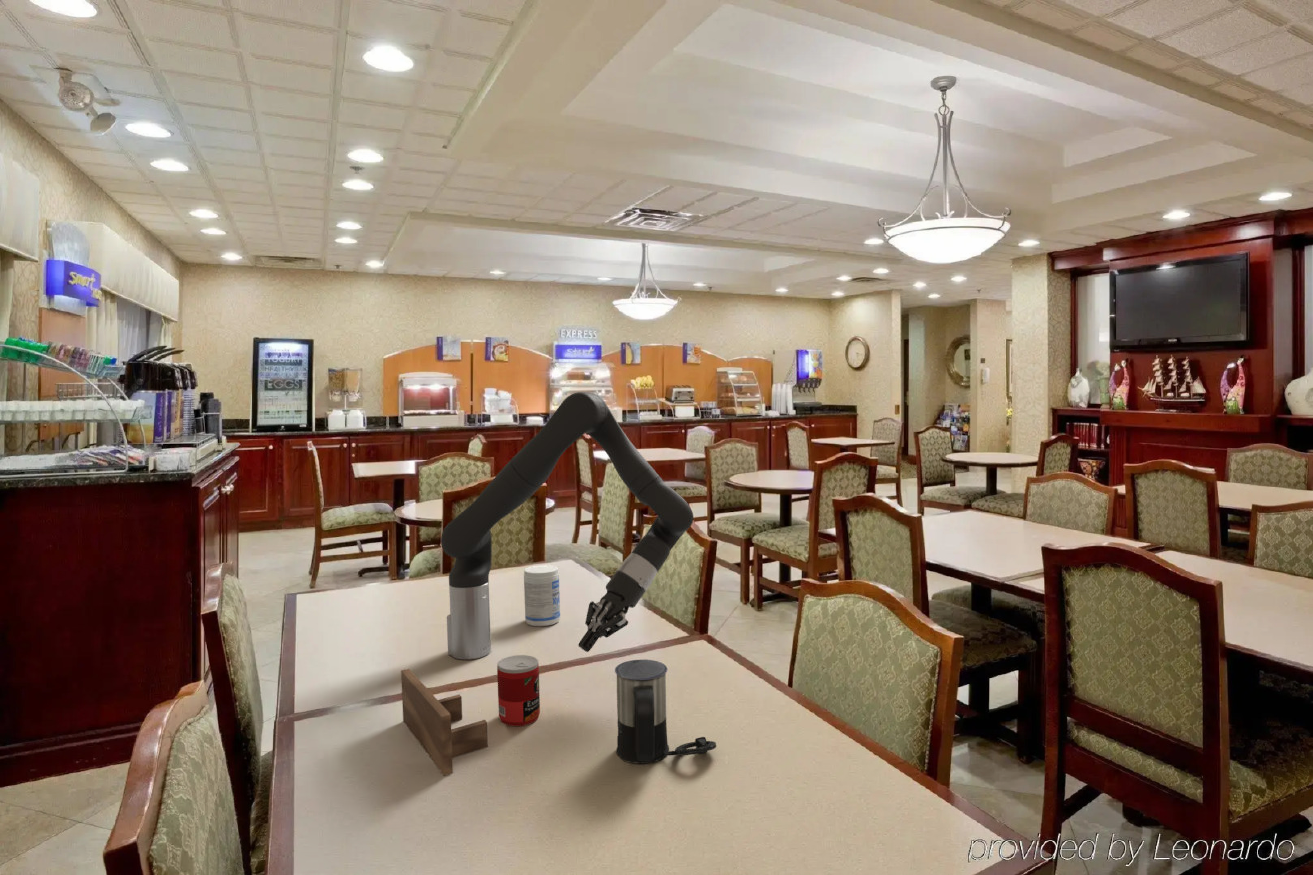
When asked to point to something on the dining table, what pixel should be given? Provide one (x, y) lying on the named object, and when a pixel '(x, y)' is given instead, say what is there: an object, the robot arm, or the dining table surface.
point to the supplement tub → (542, 595)
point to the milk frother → (646, 714)
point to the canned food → (518, 690)
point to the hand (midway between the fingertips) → (582, 649)
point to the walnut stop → (439, 723)
